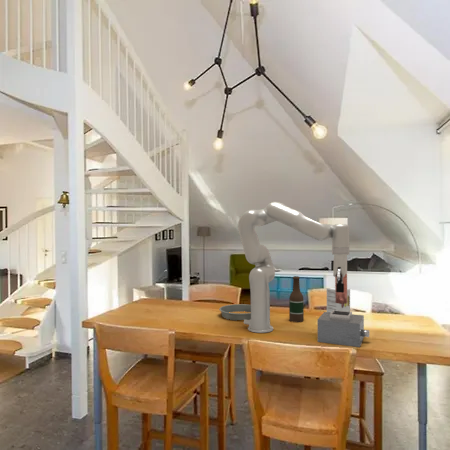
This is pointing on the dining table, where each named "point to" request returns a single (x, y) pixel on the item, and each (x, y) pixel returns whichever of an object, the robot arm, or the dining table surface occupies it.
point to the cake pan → (236, 308)
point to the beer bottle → (296, 302)
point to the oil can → (339, 296)
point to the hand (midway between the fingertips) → (341, 290)
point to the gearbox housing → (341, 328)
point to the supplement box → (332, 304)
